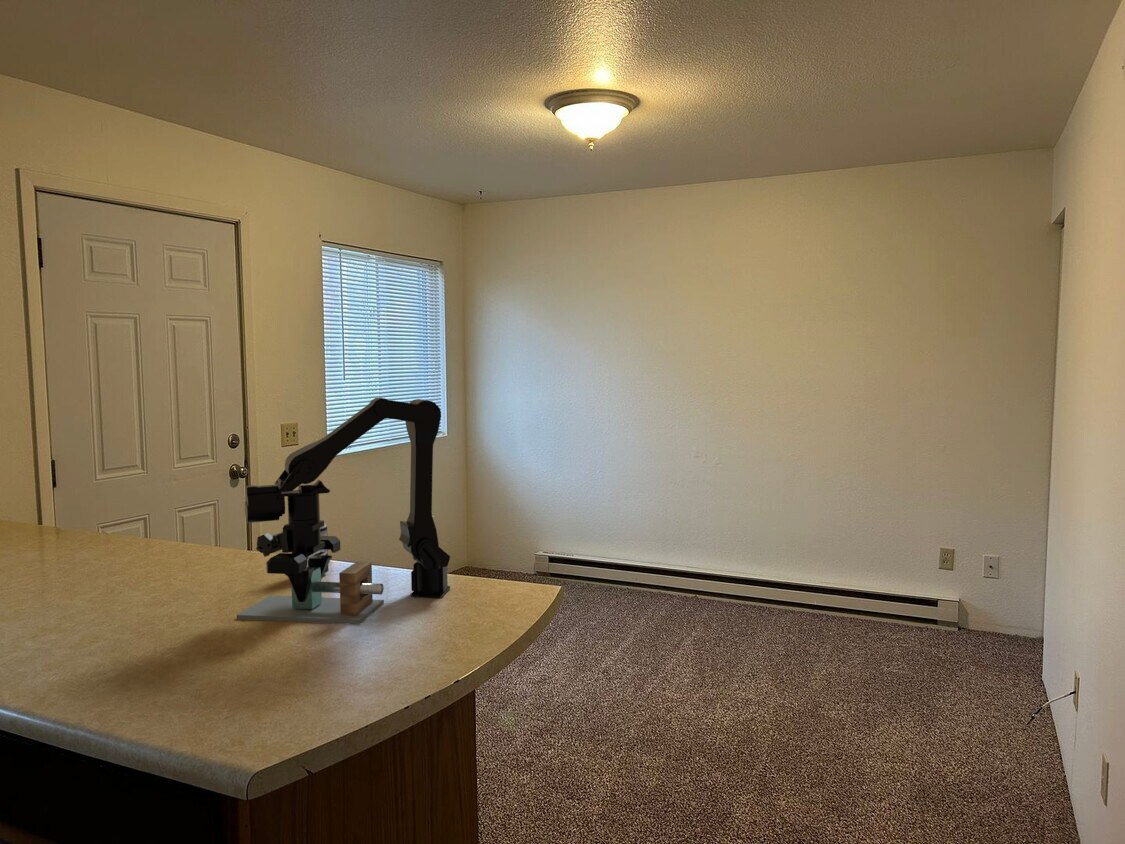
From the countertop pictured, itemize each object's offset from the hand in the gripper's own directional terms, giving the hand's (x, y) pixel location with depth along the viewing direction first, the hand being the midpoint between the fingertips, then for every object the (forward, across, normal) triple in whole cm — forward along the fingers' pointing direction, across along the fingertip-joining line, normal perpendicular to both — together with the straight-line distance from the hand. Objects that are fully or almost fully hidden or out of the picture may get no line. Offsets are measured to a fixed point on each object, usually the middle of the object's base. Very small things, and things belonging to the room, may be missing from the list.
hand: (307, 598), depth 150 cm
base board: (+2, 0, +1) cm, 3 cm away
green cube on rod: (+1, 0, +6) cm, 7 cm away
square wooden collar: (+2, 0, +10) cm, 10 cm away
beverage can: (+3, -24, -10) cm, 26 cm away
